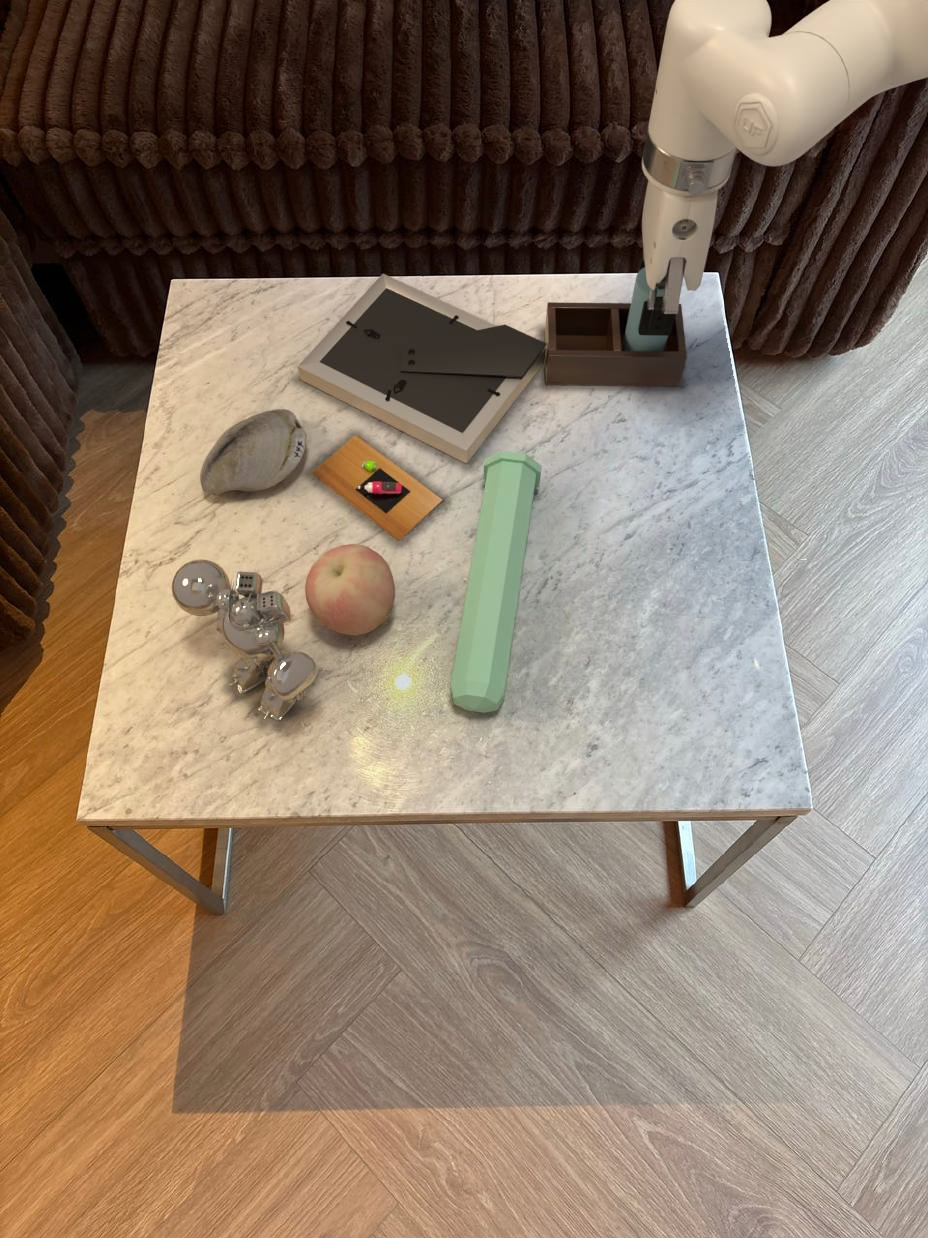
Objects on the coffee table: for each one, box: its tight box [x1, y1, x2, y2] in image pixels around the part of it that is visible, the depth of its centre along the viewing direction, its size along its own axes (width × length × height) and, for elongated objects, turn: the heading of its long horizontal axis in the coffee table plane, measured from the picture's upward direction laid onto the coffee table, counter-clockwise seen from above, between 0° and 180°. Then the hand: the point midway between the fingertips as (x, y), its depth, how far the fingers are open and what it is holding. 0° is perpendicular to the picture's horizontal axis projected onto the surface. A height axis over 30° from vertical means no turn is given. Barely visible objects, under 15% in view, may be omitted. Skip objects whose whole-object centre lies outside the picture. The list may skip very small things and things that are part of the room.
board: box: [311, 434, 444, 542], centre depth 93 cm, size 6×12×2 cm, turn 48°
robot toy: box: [171, 559, 318, 721], centre depth 78 cm, size 15×6×15 cm, turn 46°
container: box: [450, 450, 543, 714], centre depth 86 cm, size 6×6×25 cm
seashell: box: [199, 408, 308, 496], centre depth 93 cm, size 12×8×5 cm
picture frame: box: [297, 273, 547, 465], centre depth 99 cm, size 16×3×21 cm
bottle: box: [623, 267, 668, 351], centre depth 95 cm, size 4×4×10 cm
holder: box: [544, 301, 688, 388], centre depth 99 cm, size 7×14×4 cm, turn 89°
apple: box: [304, 543, 396, 636], centre depth 84 cm, size 8×8×8 cm
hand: (652, 312), depth 95 cm, fingers closed on bottle, 4 cm apart
